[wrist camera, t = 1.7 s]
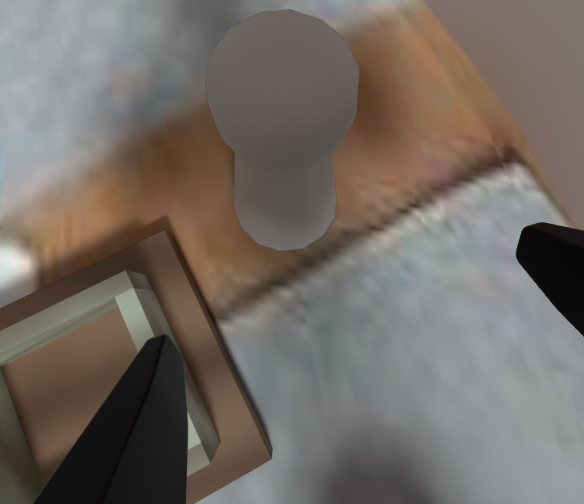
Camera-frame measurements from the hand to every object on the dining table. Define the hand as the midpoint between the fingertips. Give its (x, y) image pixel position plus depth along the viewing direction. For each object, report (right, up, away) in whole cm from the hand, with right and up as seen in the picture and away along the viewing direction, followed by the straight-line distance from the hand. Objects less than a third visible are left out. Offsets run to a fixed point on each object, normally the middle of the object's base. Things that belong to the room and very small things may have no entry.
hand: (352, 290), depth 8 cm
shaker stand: (-12, -7, +11) cm, 18 cm away
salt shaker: (-2, +3, +13) cm, 14 cm away
